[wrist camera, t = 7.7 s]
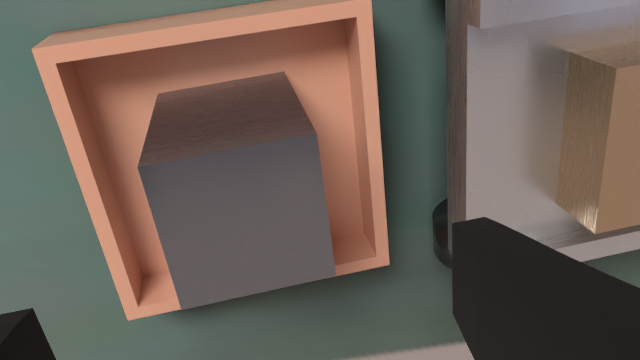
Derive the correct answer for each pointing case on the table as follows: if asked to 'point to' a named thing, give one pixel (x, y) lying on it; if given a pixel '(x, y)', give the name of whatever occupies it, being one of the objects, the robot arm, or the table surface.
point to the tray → (209, 68)
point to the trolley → (544, 122)
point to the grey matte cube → (236, 189)
